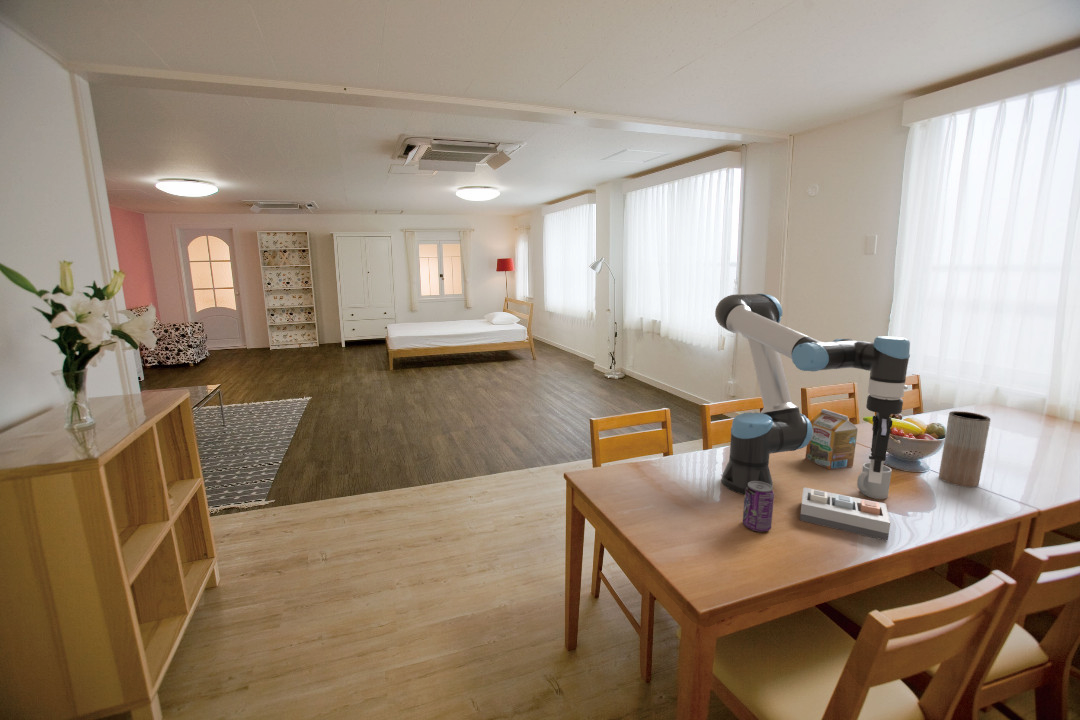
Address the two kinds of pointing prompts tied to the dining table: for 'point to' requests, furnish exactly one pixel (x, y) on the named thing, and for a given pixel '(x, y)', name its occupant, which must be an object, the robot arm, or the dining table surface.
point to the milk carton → (832, 441)
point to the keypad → (845, 516)
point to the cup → (874, 488)
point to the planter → (964, 448)
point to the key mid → (843, 501)
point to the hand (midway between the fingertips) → (874, 481)
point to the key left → (818, 496)
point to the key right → (870, 507)
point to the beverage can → (758, 506)
